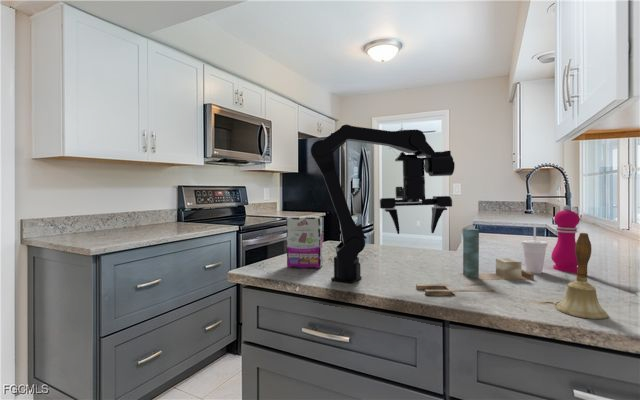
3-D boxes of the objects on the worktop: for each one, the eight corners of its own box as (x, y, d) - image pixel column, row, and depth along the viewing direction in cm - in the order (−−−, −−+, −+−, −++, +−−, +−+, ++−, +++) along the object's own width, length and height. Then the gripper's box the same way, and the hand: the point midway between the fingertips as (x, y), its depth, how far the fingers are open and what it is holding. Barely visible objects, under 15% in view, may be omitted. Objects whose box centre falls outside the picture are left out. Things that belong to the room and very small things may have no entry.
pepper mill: (571, 269, 102) (572, 204, 102) (587, 276, 95) (588, 205, 94) (545, 269, 103) (546, 204, 102) (560, 275, 96) (561, 205, 95)
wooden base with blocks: (467, 283, 89) (468, 230, 88) (458, 276, 95) (459, 227, 94) (533, 283, 88) (534, 230, 87) (520, 277, 94) (520, 227, 94)
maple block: (504, 278, 89) (504, 261, 89) (495, 274, 93) (495, 258, 93) (521, 278, 89) (521, 261, 89) (512, 274, 93) (512, 258, 93)
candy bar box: (323, 265, 111) (322, 216, 110) (320, 269, 106) (320, 217, 105) (290, 264, 113) (289, 215, 112) (286, 267, 108) (285, 217, 107)
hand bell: (585, 304, 72) (586, 230, 71) (619, 319, 64) (621, 235, 63) (546, 304, 72) (547, 230, 71) (575, 319, 64) (577, 236, 63)
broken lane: (421, 295, 79) (421, 291, 79) (414, 286, 86) (414, 282, 86) (498, 295, 78) (498, 291, 78) (484, 287, 85) (484, 283, 85)
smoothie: (523, 276, 95) (523, 227, 94) (519, 271, 101) (519, 225, 100) (549, 278, 92) (550, 228, 92) (544, 273, 98) (544, 225, 98)
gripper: (441, 176, 99) (443, 229, 99) (377, 179, 101) (379, 230, 102) (452, 175, 88) (453, 234, 88) (380, 178, 90) (381, 235, 91)
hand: (415, 233), depth 93 cm, fingers open, 9 cm apart
